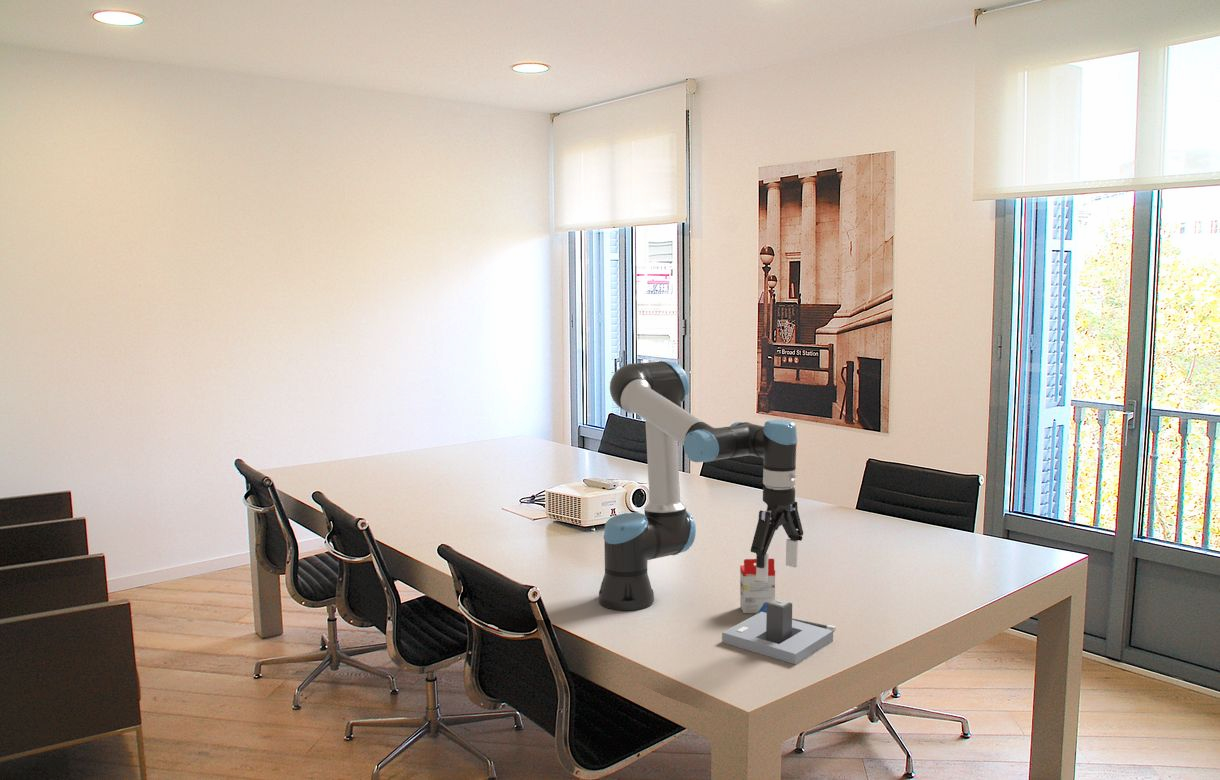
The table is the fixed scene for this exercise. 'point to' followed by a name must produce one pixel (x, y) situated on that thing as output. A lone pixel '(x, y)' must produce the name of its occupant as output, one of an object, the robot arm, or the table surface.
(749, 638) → the plate
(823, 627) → the cable
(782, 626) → the charger plug
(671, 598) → the table surface
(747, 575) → the ink box
